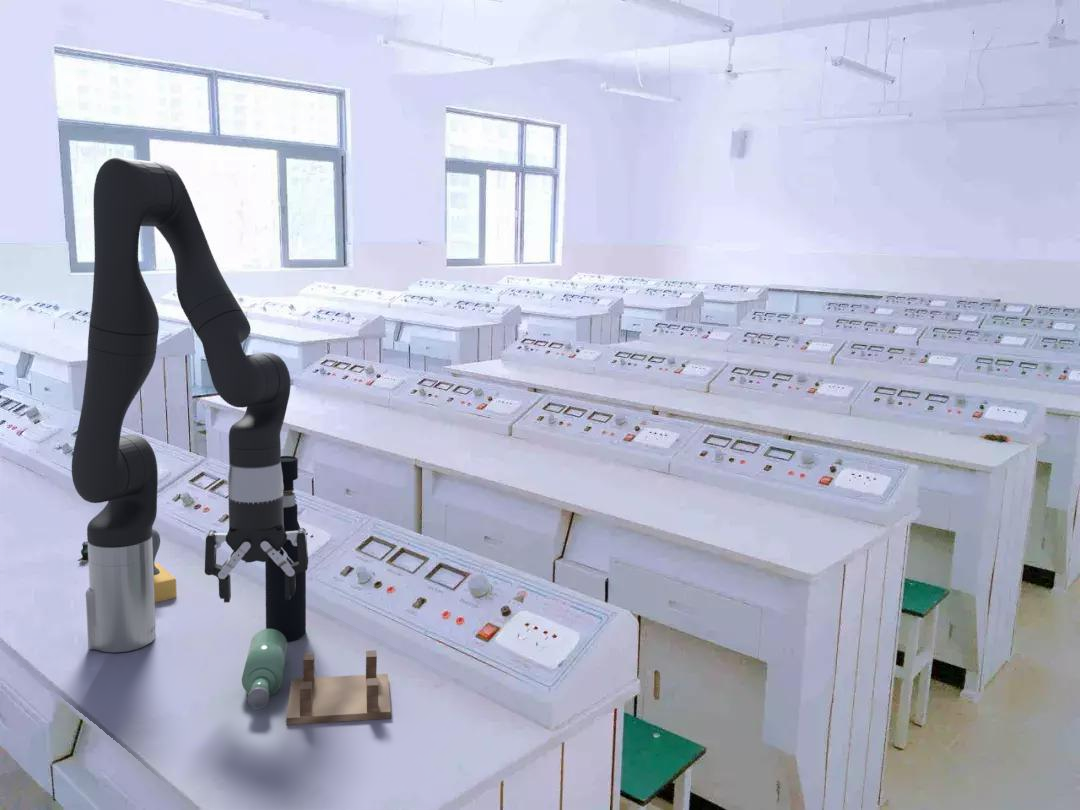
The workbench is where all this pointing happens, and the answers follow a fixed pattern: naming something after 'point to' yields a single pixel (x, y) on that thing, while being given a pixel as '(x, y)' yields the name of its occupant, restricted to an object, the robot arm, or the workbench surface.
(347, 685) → the u rest
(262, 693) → the green bottle
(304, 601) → the wine bottle
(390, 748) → the workbench surface
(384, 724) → the workbench surface
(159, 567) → the rubber stamp
